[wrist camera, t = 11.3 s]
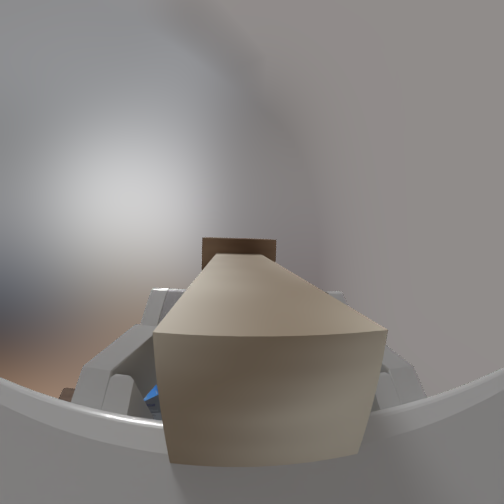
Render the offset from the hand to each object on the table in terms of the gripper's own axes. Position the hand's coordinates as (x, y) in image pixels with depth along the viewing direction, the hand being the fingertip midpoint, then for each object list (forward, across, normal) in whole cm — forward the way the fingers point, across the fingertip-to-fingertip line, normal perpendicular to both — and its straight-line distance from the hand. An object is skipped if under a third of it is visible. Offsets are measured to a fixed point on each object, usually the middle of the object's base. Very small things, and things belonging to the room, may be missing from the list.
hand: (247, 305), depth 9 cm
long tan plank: (+3, 0, +4) cm, 5 cm away
